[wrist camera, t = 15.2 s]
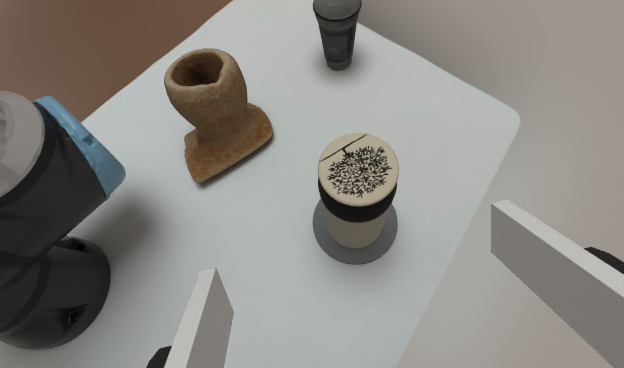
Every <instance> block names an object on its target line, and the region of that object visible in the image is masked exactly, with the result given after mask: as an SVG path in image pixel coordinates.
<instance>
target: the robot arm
mask: <svg viewBox="0 0 624 368" xmlns="http://www.w3.org/2000/svg"><path fill="white" fill-rule="evenodd" d="M125 175H126V173H125V169H124V167H123V165H122V164H121V163H120V162H119V161H118V160H117V159H116V158H115V157H114V156H113V155H112V154H111V153H110V152H109V151H108V150H107V149H106V148H105V147H104V146H103V145H102V144H101V143H100V142H99V141H98V140H97V139H96V138H95V137H94V136H93V135H92V134H91V133H90V132H89V131H88V130H87V129H86V128H85V127H84V126H83V125H82V124H81V123H80V122H79V121H78V120H77V119H76V118H75V117H74V116H73V115H72V114H70V112H69V111H68V110H66V109H65V108H64V107H63V106H62V105H61V104H60V103H59V102H58V101H57V100H56V99H55V98H53V97H51V96H44V97H42V98H40V99H35V101H33V103H32V102H31V101H29V100H28V99H26V98H24V97H22V96H20V95H18V94H16V93H13V92H9V91H0V341H2V342H5V343H7V344H10V345H13V346H16V347H19V348H23V349H42V348H51V347H56V346H59V345H62V344H64V343H66V342H68V341H70V340H72V339H74V338H75V337H76V336H78V335H79V334H80V333H82V332H83V331H84V330H85V329H86V328H87V327H88V326H89V325H90V324H91V323H92V321H93V320H94V319H95V317H96V316H97V315H98V313H99V311H100V310H101V308H102V306H103V304H104V302H105V299H106V296H107V293H108V289H109V284H110V269H109V264H108V261H107V259H106V257H105V255H104V253H103V252H102V251H101V249H100V248H99V247H97V246H96V245H95V244H93V243H91V242H89V241H86V240H83V239H80V238H76V237H70V236H66V235H67V234H68V233H69V232H70V231H71V230H73V229H74V228H75V227H76V226H77V225H78V224H79V223H80V222H82V221H83V220H84V219H85V218H86V217H87V216H88V215H90V214H91V213H92V212H93V211H94V210H95V209H96V208H97V207H99V206H100V205H101V204H102V203H103V202H104V201H106V200H108V199H109V197H110V194H111V193H112V192H113V191H114V190H115V189H116V188H117V187H118V186H119V185H120V184H121V183H122V182H123V181H124V179H125ZM491 252H492V253H493V254H494V255H495V256H496V257H497V258H498V259H499V260H500V261H501V262H502V263H503V264H504V265H505V266H506V267H508V268H509V269H510V270H511V271H512V272H513V273H514V274H515V275H516V276H517V277H518V278H519V279H520V280H521V281H522V282H523V283H524V284H526V285H527V286H528V287H529V288H530V289H531V290H532V291H533V292H534V293H535V294H536V295H537V296H538V297H539V298H540V299H542V301H544V302H545V303H546V304H547V305H548V306H549V307H550V308H551V309H552V310H553V311H554V312H555V313H556V314H557V315H558V316H560V317H561V318H562V319H563V320H564V321H565V322H566V323H567V324H568V325H569V326H570V327H571V328H572V329H573V330H574V331H575V332H576V333H578V334H579V335H580V336H581V337H582V338H583V339H584V340H585V341H586V342H587V343H588V344H589V345H590V346H591V347H592V348H593V349H595V350H596V351H597V352H598V353H599V354H600V355H601V356H602V357H603V358H604V359H605V360H606V361H607V362H608V363H610V365H612V366H613V367H614V368H624V262H622V261H621V260H619V259H617V258H616V257H614V256H612V255H611V254H609V253H606V252H604V251H601V250H598V249H596V248H593V247H589V248H584V249H583V248H581V247H580V246H578V245H577V244H575V243H574V242H572V241H571V240H569V239H567V238H566V237H564V236H563V235H561V234H560V233H558V232H557V231H555V230H554V229H552V228H550V227H549V226H547V225H546V224H544V223H542V222H541V221H539V220H538V219H536V218H535V217H533V216H532V215H530V214H529V213H527V212H526V211H524V210H523V209H521V208H519V207H518V206H516V205H515V204H513V203H512V202H510V201H509V200H503V201H499V202H495V203H491ZM233 313H234V312H233V309H232V307H231V304H230V301H229V299H228V296H227V294H226V291H225V289H224V286H223V284H222V281H221V279H220V276H219V274H218V271H217V269H216V267H215V268H211V269H207V270H202V271H200V272H199V275H198V277H197V280H196V283H195V285H194V288H193V291H192V294H191V296H190V299H189V302H188V304H187V307H186V310H185V312H184V315H183V318H182V321H181V323H180V326H179V329H178V331H177V334H176V337H175V340H174V342H173V345H172V346H169V347H164V348H160V349H159V350H158V351H157V352H156V354H155V355H154V356H153V357H152V359H151V360H150V361H149V363H148V365H147V368H224V363H225V358H226V352H227V346H228V341H229V335H230V330H231V324H232V319H233Z"/></svg>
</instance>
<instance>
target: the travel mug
mask: <svg viewBox="0 0 624 368" xmlns="http://www.w3.org/2000/svg"><path fill="white" fill-rule="evenodd" d="M398 175H399V165H398V160H397V158H396V155H395V153H394V152H393V150H392V149H391V148H390V147H389V145H387V144H386V143H385V142H384V141H382V140H381V139H379V138H377V137H375V136H372V135H369V134H363V133H353V134H348V135H344V136H342V137H339V138H337V139H336V140H334V141H333V142H331V143H330V144H329V145H328V146H327V147H326V148H325V150H324V151H323V153H322V155H321V157H320V160H319V164H318V176H319V178H318V187H319V192H320V197H321V201H322V206H323V211H324V215H325V220H326V224H327V229H328V231H329V233H330V235H331V237H332V238H333V239H334V240H335V241H336V242H337V243H338V244H340V245H342V246H344V247H347V248H352V249H359V248H364V247H366V246H368V245H370V244H372V243H373V242H374V241H375V240H376V239H377V238H378V237H379V235H380V233H381V231H382V228H383V225H384V222H385V220H386V217H387V214H388V212H389V209H390V206H391V204H392V201H393V198H394V196H395V193H396V188H397V179H398Z"/></svg>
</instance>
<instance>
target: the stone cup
mask: <svg viewBox="0 0 624 368" xmlns="http://www.w3.org/2000/svg"><path fill="white" fill-rule="evenodd" d="M164 84H165V88H166V92H167V95H168V97H169V100H170V102H171V104H172V105H173V106H174V108H175V109H176V110H177V111H178V112H179V113H180V115H182V116H183V117H184V118H185V119H186V120H187V121H188V122H189V123H191V124H192V125H193V126H195V127H196V129H195V130H193V131H192V132H190V133H188V134H187V135H185V138H184V141H185V146H186V149H185V160H186V163H187V166H188V170H189V172H190V174H191V176H192V178H193V179H194V180H195V181H196V182H197V184H198V183H201V182H203V181H205V180H207V179H209V178H211V177H213V176H215V175H216V174H218V173H220V172H221V171H223V170H225V169H226V168H228V167H230V166H231V165H233V164H235V163H236V162H238V161H239V160H241V159H243V158H244V157H246V156H247V155H249V154H250V153H252V152H253V151H255V150H256V149H258V148H259V147H261V146H262V145H263V144H265V143H266V142H267V141H268V140H269V139H270V138H271V136H272V133H273V129H272V125H271V122H270V121H269V118H268V117H267V115H266V114H265V113H264V112H263V111H262V110H261V109H260V108H259V107H257V106H255V105H252V104H250V103H247V88H246V83H245V80H244V77H243V75H242V72H241V70H240V68H239V66H238V64H237V62H236V61H235V59H234V58H233V57H232V56H231V55H230V54H228V53H226V52H224V51H221V50H219V49H206V48H204V49H198V50H194V51H192V52H189V53H187V54H185V55H183V56H182V57H180V58H178V59H177V60H176V61H175V62H174V63H173V64H172V65H171V66H170V67H169V68H168V70H167V72H166V74H165V77H164Z"/></svg>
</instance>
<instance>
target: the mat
mask: <svg viewBox="0 0 624 368" xmlns="http://www.w3.org/2000/svg"><path fill="white" fill-rule="evenodd" d="M313 228H314V233H315V236H316V238H317V241H318V243H319V244H320V246H321V247H322V248H323V250H324V251H325V252H326V253H327V254H329V255H330V256H331V257H333V258H334V259H336V260H338V261H341V262H344V263H348V264H364V263H368V262H371V261H373V260H376V259H377V258H379V257H381V256H382V255H383V254H384V253H385V252H386V251H387V250H388V249H389V248H390V246H391V245H392V243H393V241H394V239H395V236H396V232H397V216H396V212H395V209H394V207H393V205H392V204H391V206H390V209H389V212H388V214H387V217H386V220H385V222H384V225H383V228H382V231H381V233H380V235H379V237H378V238H377V239H376V240H375V241H374V242H373V243H372V244H370V245H368V246H366V247H364V248H359V249H352V248H347V247H344V246H342V245H340V244H338V243H337V242H336V241H335V240H334V239H333V238H332V237H331V235H330V233H329V231H328V229H327V224H326V220H325V215H324V211H323V206H322V201H321V200H320V201H319V203H318V204H317V206H316V209H315V212H314V216H313Z"/></svg>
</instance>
